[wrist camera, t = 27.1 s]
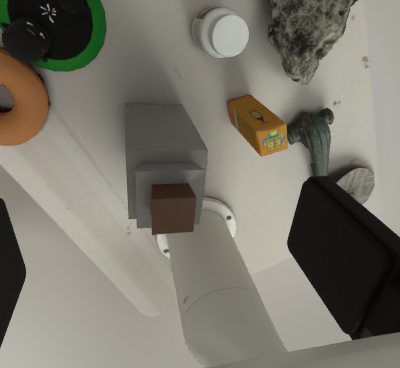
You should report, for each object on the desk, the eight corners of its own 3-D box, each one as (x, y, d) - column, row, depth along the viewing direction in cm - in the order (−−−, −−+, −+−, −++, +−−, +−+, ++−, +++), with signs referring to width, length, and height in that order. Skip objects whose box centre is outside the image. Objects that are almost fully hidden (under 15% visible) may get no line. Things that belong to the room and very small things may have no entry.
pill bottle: (230, 6, 32) (256, 7, 26) (228, 50, 35) (252, 61, 28) (190, 7, 32) (206, 7, 25) (191, 52, 34) (206, 63, 27)
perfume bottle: (179, 155, 40) (212, 246, 25) (127, 155, 39) (129, 253, 23) (182, 104, 37) (222, 175, 22) (125, 103, 35) (125, 178, 20)
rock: (282, 3, 38) (253, -48, 30) (358, -27, 34) (349, -97, 25) (290, 98, 38) (262, 73, 29) (367, 81, 33) (361, 46, 25)
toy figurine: (126, 21, 31) (127, 25, 26) (65, 91, 33) (55, 106, 28) (36, -76, 26) (16, -94, 21) (-29, 14, 28) (-62, 16, 23)
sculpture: (322, 241, 53) (345, 250, 45) (292, 198, 53) (309, 200, 45) (376, 202, 53) (409, 204, 45) (347, 159, 53) (374, 154, 45)
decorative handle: (277, 122, 40) (294, 136, 36) (322, 97, 40) (345, 108, 36) (304, 198, 48) (321, 217, 44) (342, 178, 48) (363, 195, 44)
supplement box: (230, 125, 39) (259, 159, 31) (226, 100, 38) (255, 128, 29) (254, 118, 40) (289, 150, 31) (251, 93, 38) (287, 119, 29)
